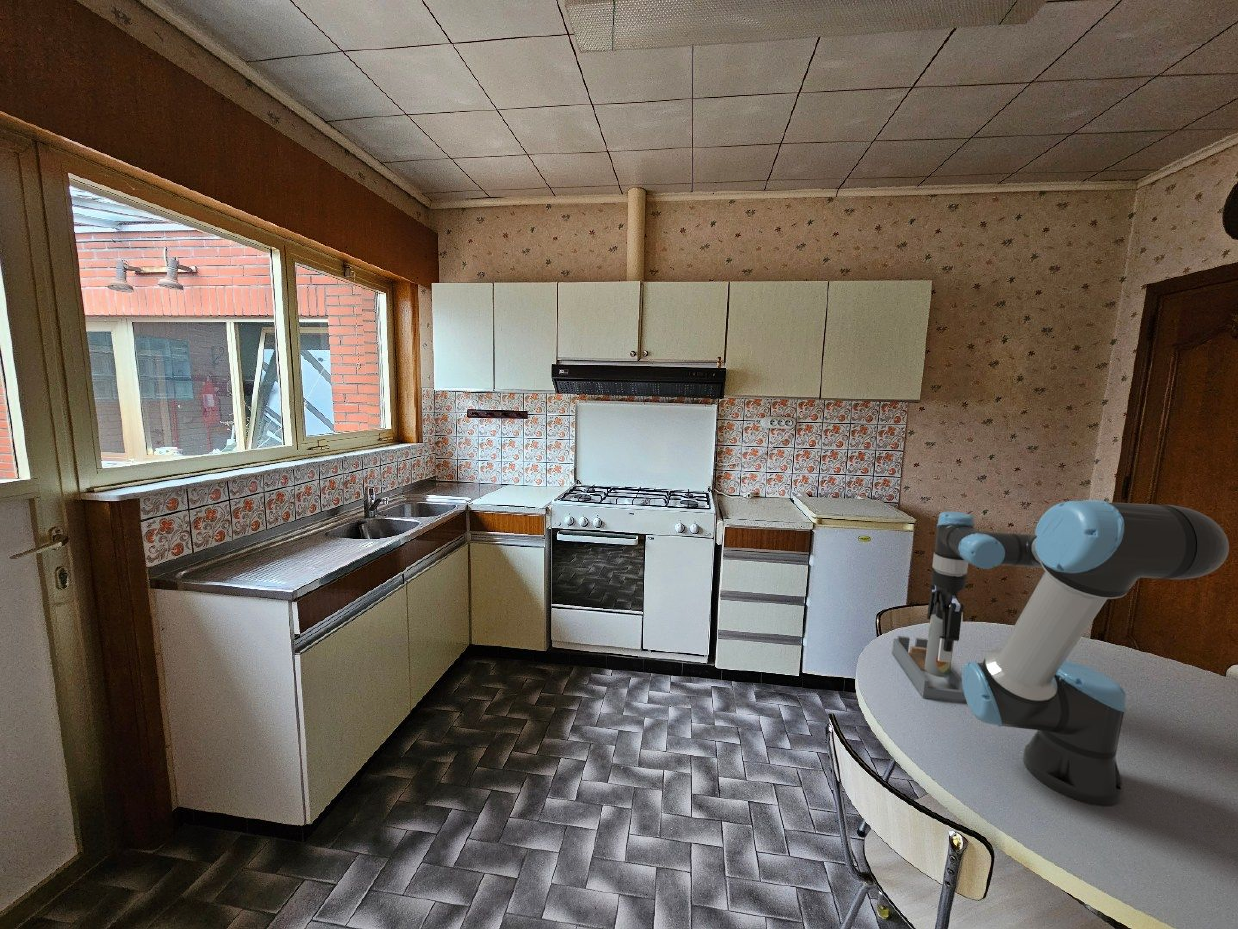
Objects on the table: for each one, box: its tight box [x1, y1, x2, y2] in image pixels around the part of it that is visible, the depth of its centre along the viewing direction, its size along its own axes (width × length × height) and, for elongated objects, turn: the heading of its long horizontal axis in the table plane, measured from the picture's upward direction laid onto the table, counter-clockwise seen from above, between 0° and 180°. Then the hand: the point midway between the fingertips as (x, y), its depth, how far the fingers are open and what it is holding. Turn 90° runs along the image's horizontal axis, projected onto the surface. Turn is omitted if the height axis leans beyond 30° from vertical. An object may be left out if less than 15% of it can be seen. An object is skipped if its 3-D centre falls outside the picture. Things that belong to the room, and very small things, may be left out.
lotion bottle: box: [925, 600, 955, 677], centre depth 132 cm, size 6×6×20 cm
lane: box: [891, 635, 967, 704], centre depth 139 cm, size 23×10×6 cm, turn 169°
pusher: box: [909, 645, 927, 670], centre depth 144 cm, size 7×7×6 cm
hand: (938, 655), depth 132 cm, fingers closed on lotion bottle, 5 cm apart
